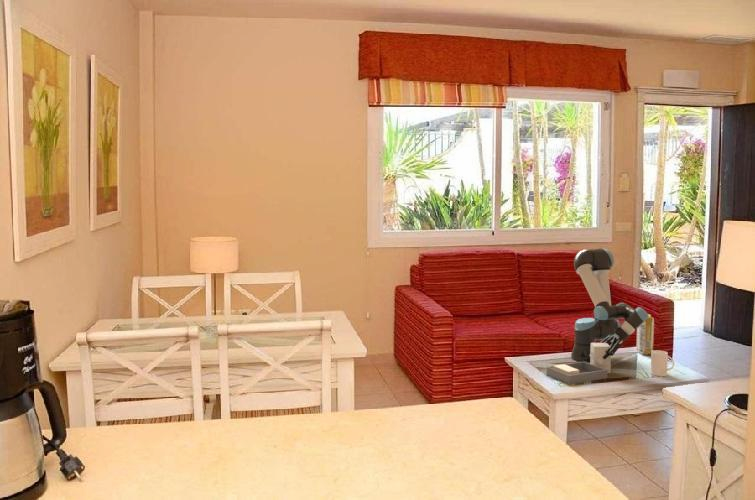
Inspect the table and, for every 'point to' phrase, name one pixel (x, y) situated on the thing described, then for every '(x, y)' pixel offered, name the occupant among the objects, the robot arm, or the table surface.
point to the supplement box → (597, 352)
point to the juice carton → (645, 336)
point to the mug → (659, 363)
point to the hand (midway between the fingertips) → (594, 359)
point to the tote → (585, 373)
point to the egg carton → (566, 369)
